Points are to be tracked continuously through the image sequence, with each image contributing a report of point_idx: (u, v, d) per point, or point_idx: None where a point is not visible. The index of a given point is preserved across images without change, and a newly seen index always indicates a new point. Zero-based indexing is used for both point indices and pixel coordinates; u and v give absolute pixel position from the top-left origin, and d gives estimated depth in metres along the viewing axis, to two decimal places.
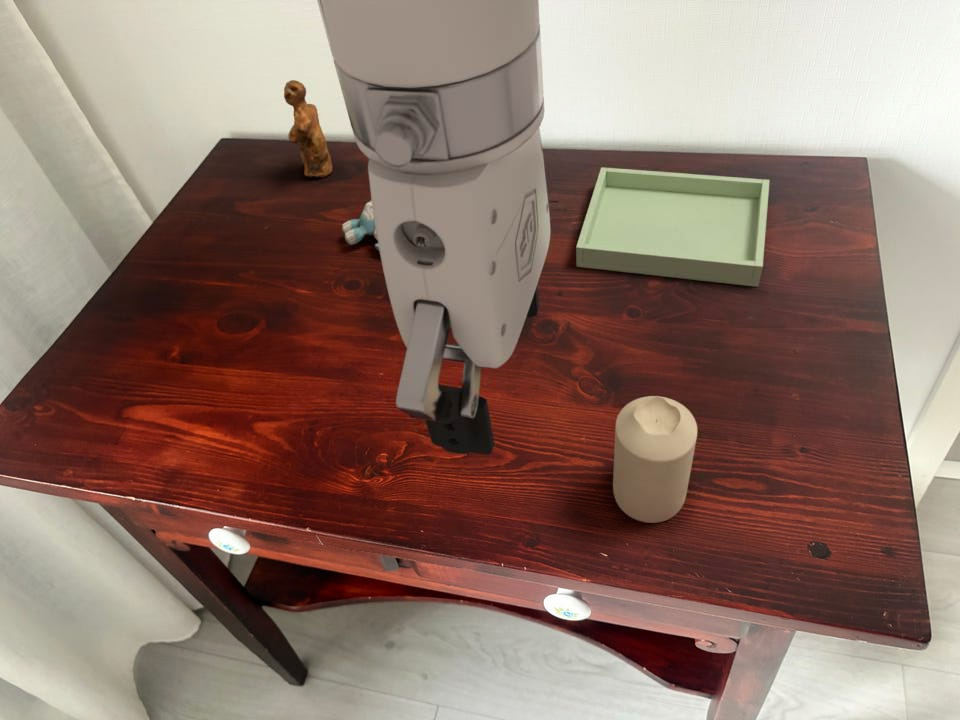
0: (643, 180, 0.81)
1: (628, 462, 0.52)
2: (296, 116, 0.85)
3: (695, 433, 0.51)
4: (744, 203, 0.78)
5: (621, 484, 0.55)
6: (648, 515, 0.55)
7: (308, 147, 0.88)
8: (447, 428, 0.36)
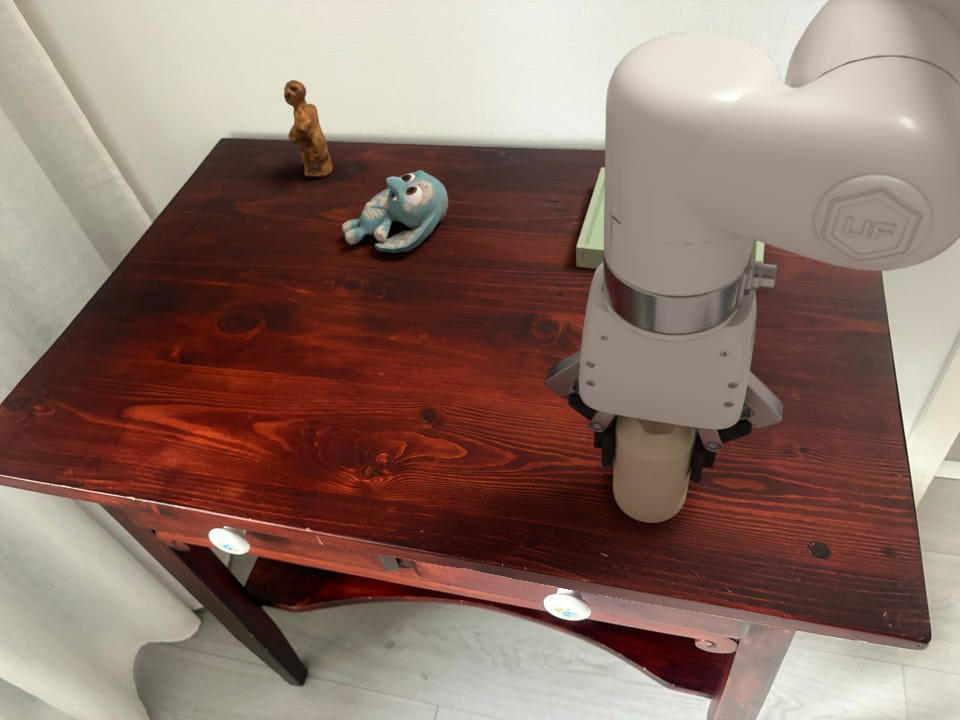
0: None
1: (628, 462, 0.52)
2: (296, 116, 0.85)
3: (695, 433, 0.51)
4: None
5: (621, 484, 0.55)
6: (648, 515, 0.55)
7: (308, 147, 0.88)
8: None
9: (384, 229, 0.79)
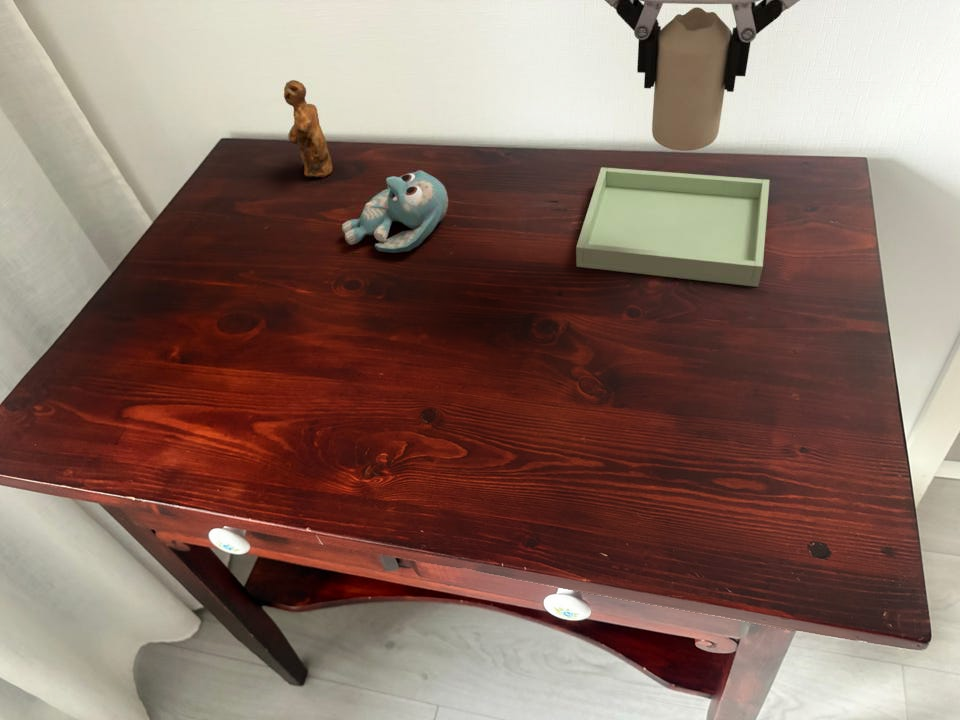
0: (643, 180, 0.81)
1: (669, 66, 0.58)
2: (296, 116, 0.85)
3: (730, 34, 0.57)
4: (744, 203, 0.78)
5: (661, 106, 0.60)
6: (685, 138, 0.61)
7: (308, 147, 0.88)
8: None
9: (384, 229, 0.79)
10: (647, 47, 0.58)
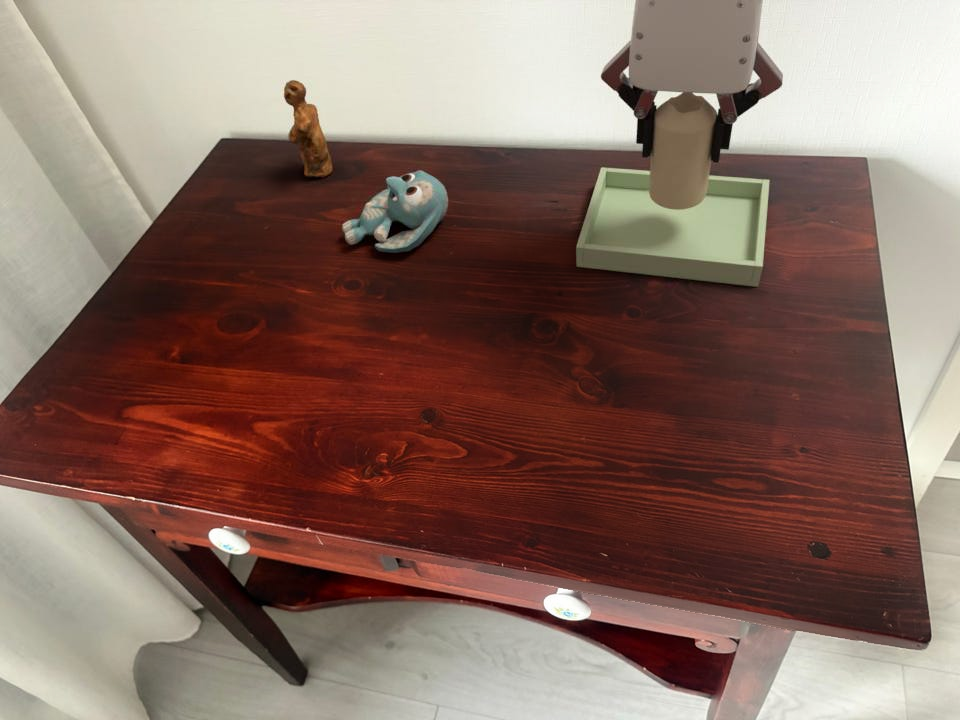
0: (643, 180, 0.81)
1: (664, 141, 0.67)
2: (296, 116, 0.85)
3: (715, 115, 0.66)
4: (744, 203, 0.78)
5: (657, 172, 0.70)
6: (677, 200, 0.71)
7: (308, 147, 0.88)
8: None
9: (384, 229, 0.79)
10: (644, 125, 0.67)
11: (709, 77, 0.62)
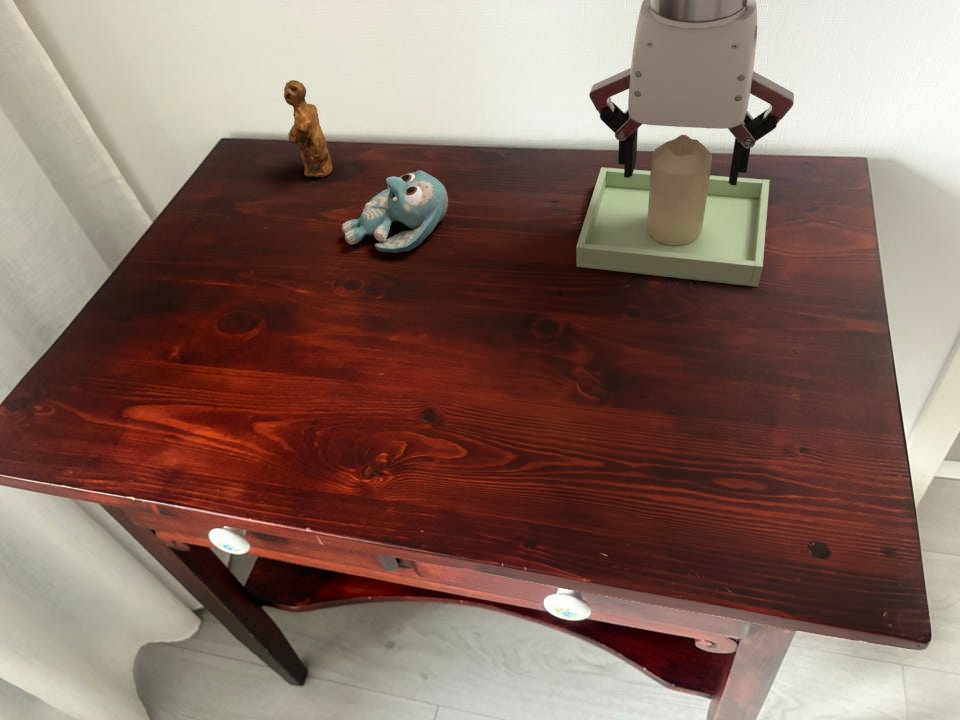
0: (643, 180, 0.81)
1: (661, 183, 0.70)
2: (296, 116, 0.85)
3: (710, 158, 0.70)
4: (744, 203, 0.78)
5: (655, 210, 0.73)
6: (674, 236, 0.74)
7: (308, 147, 0.88)
8: None
9: (384, 229, 0.79)
10: (626, 147, 0.69)
11: (706, 113, 0.64)
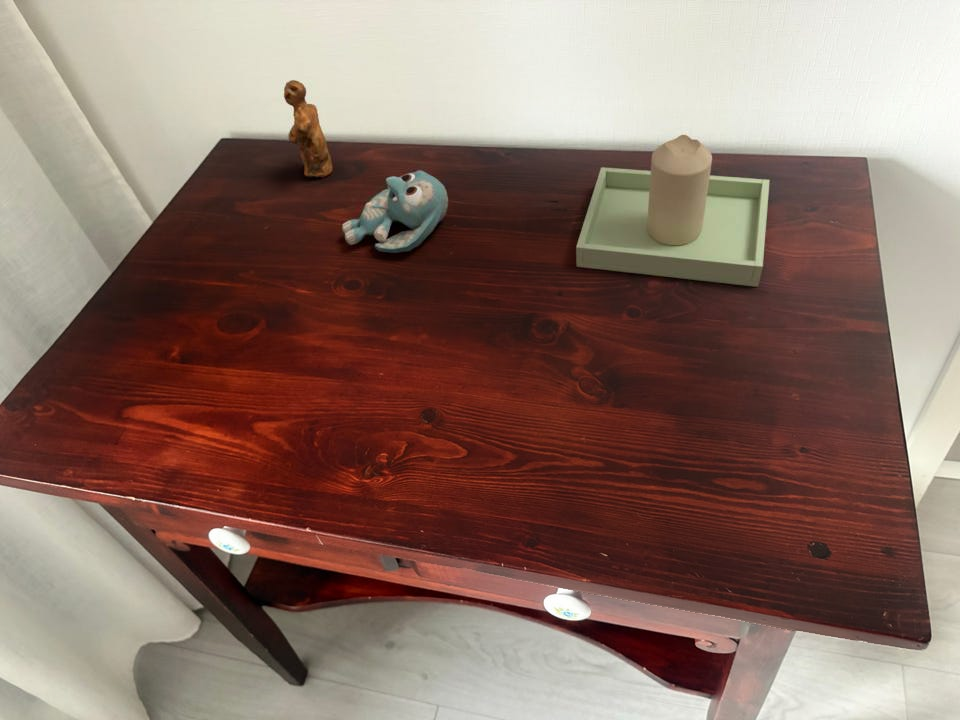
0: (643, 180, 0.81)
1: (661, 183, 0.70)
2: (296, 116, 0.85)
3: (710, 158, 0.70)
4: (744, 203, 0.78)
5: (655, 210, 0.73)
6: (674, 236, 0.74)
7: (308, 147, 0.88)
8: None
9: (384, 229, 0.79)
10: None
11: None
